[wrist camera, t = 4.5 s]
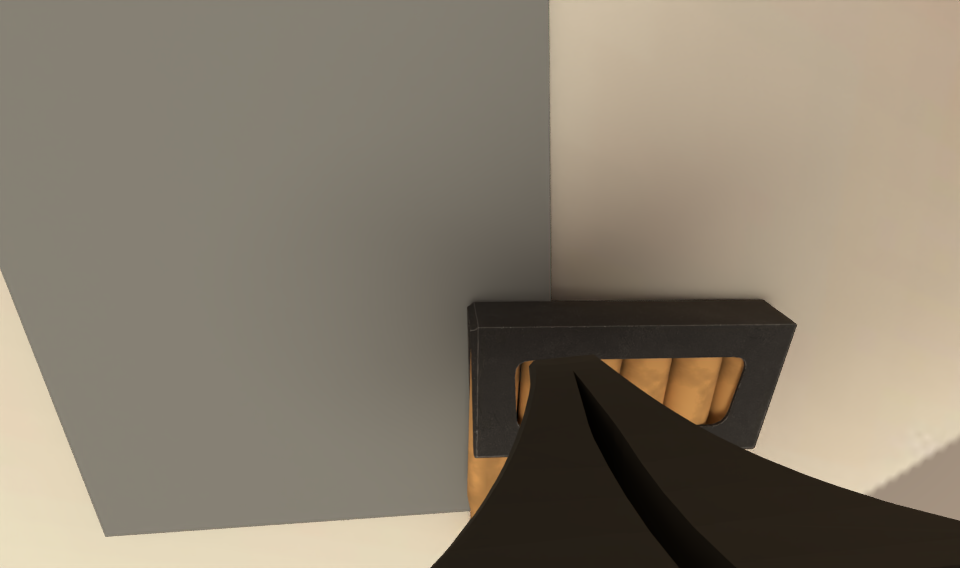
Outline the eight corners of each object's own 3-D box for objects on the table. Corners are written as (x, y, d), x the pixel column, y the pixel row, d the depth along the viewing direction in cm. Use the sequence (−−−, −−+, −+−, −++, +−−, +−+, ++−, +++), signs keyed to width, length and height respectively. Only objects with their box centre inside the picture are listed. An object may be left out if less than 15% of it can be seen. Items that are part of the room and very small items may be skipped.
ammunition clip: (466, 301, 18) (459, 557, 23) (470, 327, 16) (462, 598, 21) (766, 299, 19) (700, 545, 24) (799, 324, 17) (721, 582, 22)
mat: (546, -68, 15) (547, -71, 15) (551, 499, 22) (552, 505, 22) (-108, -33, 15) (-119, -35, 14) (110, 530, 22) (105, 536, 21)
